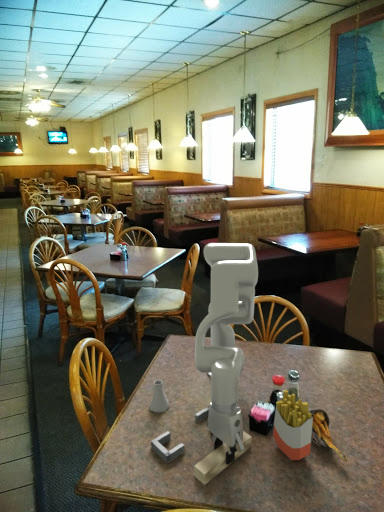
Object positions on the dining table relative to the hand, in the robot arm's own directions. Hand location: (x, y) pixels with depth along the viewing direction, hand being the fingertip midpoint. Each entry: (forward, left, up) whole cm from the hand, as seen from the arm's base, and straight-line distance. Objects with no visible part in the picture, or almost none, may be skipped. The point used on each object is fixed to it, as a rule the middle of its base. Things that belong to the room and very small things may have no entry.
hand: (224, 456), depth 107 cm
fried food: (-27, +16, -2) cm, 31 cm away
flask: (0, -32, -2) cm, 32 cm away
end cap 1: (+10, -14, -1) cm, 17 cm away
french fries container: (-17, +11, -2) cm, 20 cm away
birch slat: (0, 0, -1) cm, 1 cm away
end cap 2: (-8, -14, -1) cm, 16 cm away
